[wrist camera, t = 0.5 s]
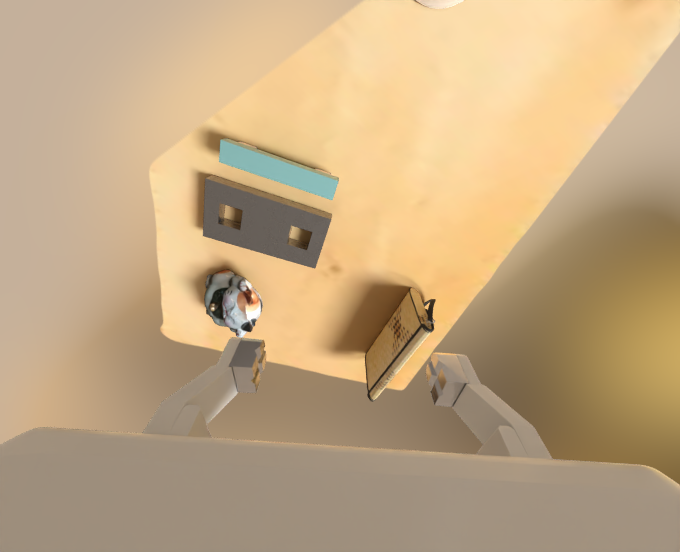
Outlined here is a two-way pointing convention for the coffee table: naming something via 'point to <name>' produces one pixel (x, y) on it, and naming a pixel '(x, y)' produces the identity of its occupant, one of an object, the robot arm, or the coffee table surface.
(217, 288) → the lucky cat figurine
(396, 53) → the coffee table surface
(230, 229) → the hole plate
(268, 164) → the peg strip
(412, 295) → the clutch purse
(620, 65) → the coffee table surface
